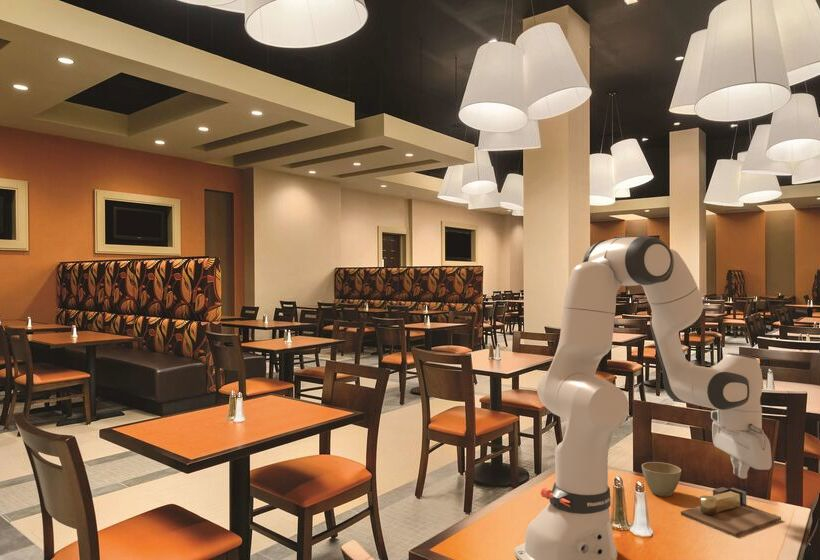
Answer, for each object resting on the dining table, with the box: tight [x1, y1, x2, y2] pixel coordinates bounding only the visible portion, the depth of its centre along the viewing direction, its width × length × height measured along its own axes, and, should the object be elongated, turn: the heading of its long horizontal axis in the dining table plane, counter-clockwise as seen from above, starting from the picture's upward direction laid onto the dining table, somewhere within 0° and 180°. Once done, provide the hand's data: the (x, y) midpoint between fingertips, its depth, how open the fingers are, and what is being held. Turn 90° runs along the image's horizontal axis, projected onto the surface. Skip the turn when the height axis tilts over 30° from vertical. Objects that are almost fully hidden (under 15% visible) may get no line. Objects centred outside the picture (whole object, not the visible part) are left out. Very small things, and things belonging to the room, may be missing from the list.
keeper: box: [712, 486, 747, 506], centre depth 143 cm, size 6×5×3 cm
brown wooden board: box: [680, 504, 782, 537], centre depth 136 cm, size 18×14×1 cm
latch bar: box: [699, 491, 740, 515], centre depth 139 cm, size 12×4×3 cm, turn 114°
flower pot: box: [641, 461, 682, 497], centre depth 153 cm, size 10×10×7 cm
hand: (740, 476), depth 135 cm, fingers closed
